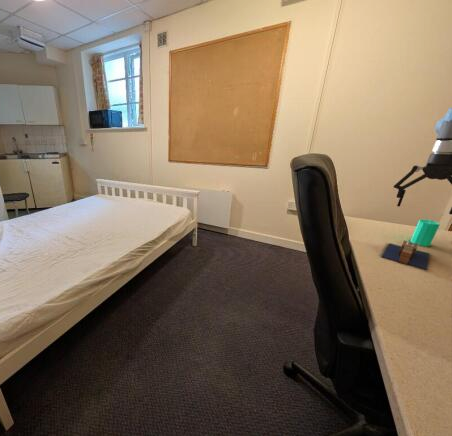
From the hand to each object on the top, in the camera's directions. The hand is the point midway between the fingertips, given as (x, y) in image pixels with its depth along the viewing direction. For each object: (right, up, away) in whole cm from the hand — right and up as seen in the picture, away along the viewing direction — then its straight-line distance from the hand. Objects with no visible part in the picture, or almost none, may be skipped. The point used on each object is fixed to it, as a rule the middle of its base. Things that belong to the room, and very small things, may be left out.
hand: (423, 209), depth 86 cm
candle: (+15, -15, +14) cm, 26 cm away
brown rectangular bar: (-5, -19, +2) cm, 20 cm away
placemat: (-3, -19, +4) cm, 19 cm away
